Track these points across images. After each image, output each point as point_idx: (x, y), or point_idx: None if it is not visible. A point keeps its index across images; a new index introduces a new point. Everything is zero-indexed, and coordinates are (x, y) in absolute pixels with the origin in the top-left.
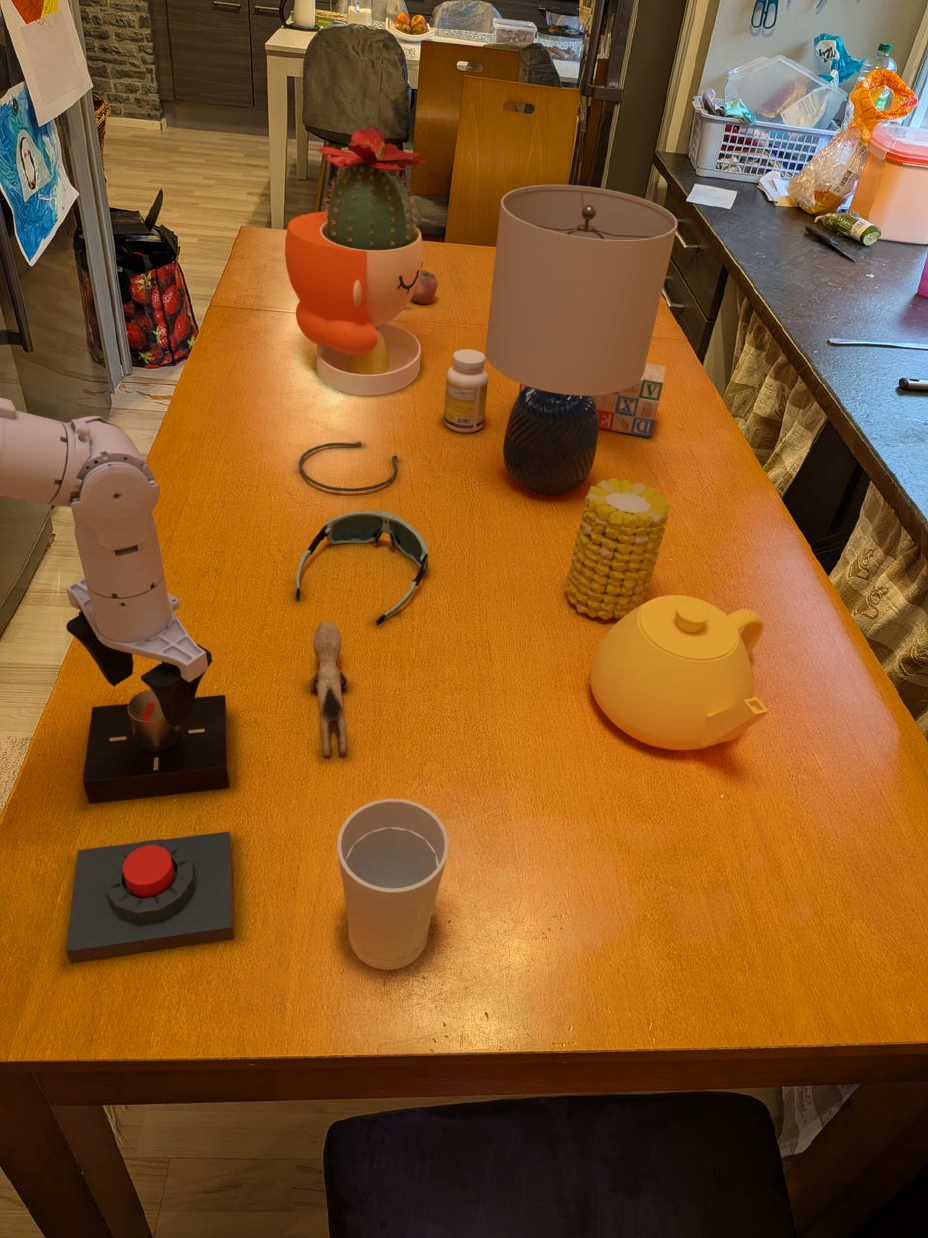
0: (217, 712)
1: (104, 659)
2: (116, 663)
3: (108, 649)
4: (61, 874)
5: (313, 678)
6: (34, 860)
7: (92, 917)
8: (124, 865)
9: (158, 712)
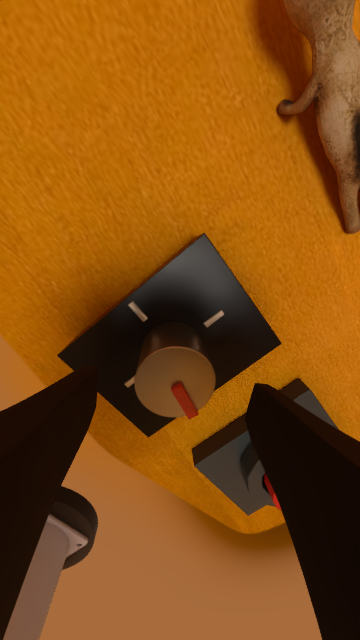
0: (217, 272)
1: (57, 480)
2: (75, 428)
3: (44, 491)
4: (185, 462)
5: (310, 98)
6: (156, 464)
7: (248, 494)
8: (276, 505)
9: (198, 390)
